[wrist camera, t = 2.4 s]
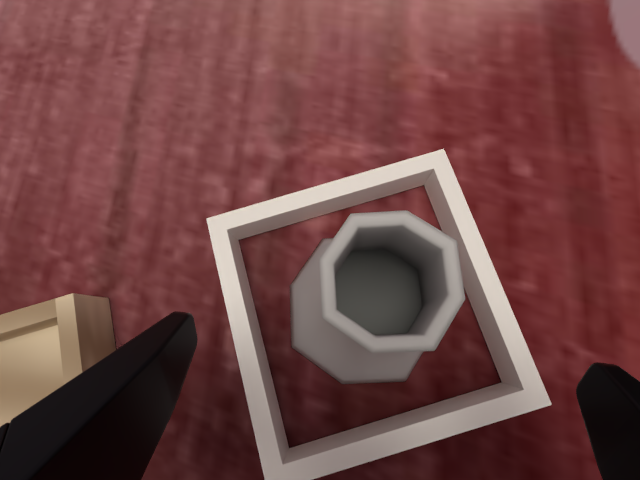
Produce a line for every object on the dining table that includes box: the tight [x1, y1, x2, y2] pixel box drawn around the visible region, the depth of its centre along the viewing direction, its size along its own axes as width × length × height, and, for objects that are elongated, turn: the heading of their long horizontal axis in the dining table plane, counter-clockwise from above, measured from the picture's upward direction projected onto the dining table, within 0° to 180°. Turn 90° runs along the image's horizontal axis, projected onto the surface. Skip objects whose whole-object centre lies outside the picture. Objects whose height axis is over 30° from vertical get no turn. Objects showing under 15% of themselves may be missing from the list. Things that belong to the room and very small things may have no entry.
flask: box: [290, 210, 465, 384], centre depth 12 cm, size 7×7×10 cm
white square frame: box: [207, 149, 552, 480], centre depth 16 cm, size 12×12×2 cm
